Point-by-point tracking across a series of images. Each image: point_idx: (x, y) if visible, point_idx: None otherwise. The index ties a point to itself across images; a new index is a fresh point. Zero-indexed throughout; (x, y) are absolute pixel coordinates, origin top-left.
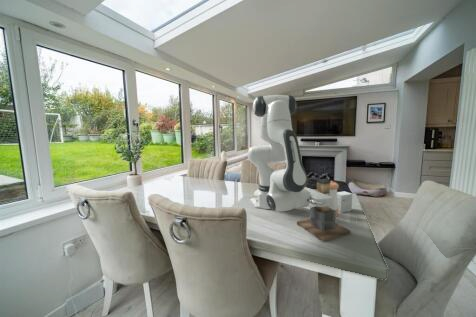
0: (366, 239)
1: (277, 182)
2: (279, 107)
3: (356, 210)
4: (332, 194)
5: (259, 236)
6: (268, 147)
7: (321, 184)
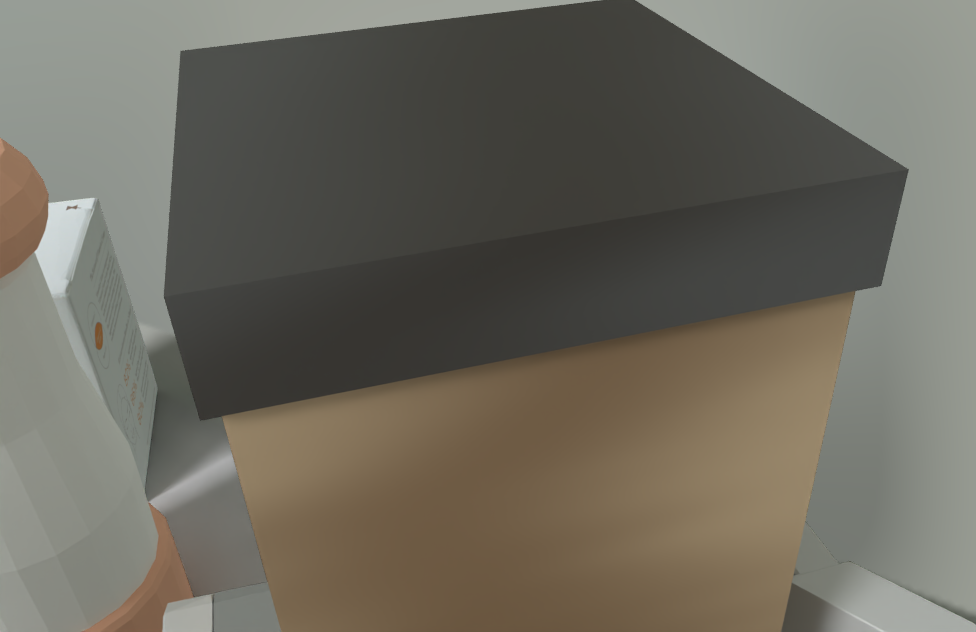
0: None
1: None
2: None
3: (177, 352)
4: (32, 370)
5: None
6: None
7: (695, 364)
